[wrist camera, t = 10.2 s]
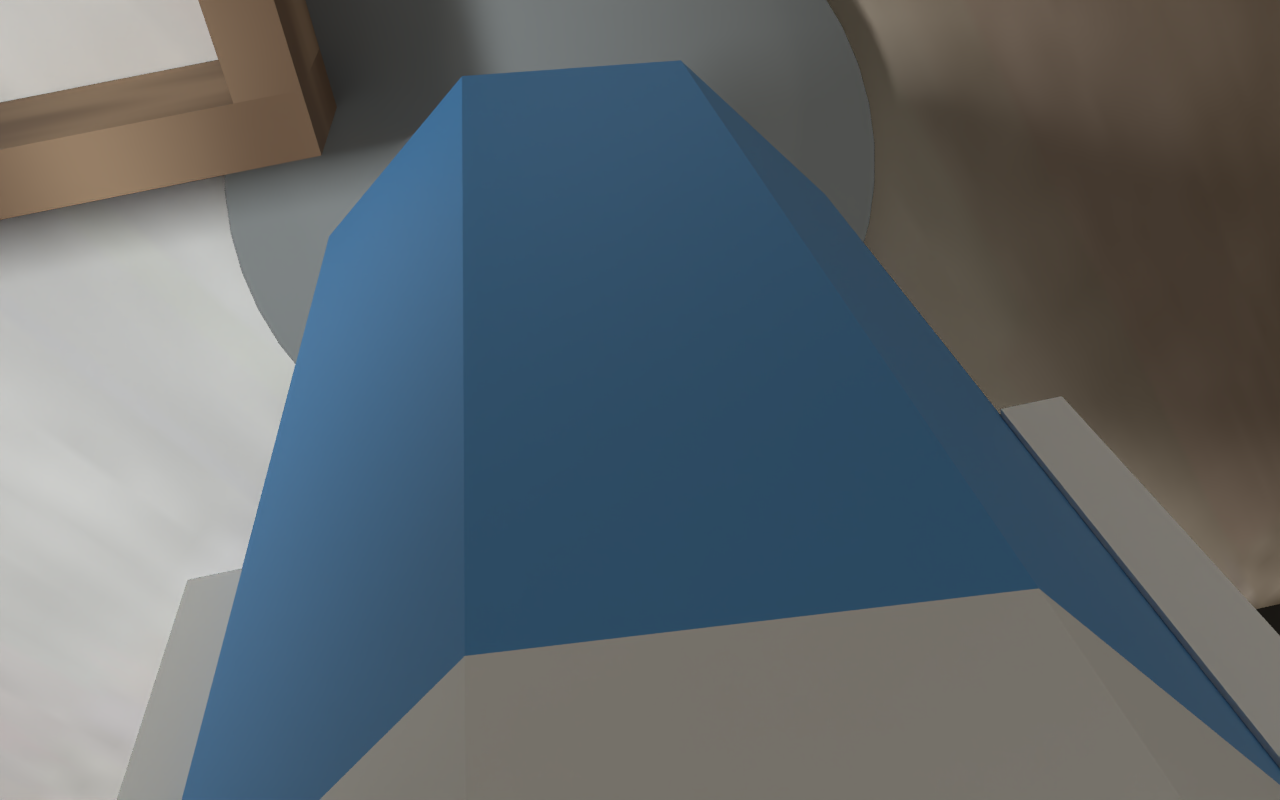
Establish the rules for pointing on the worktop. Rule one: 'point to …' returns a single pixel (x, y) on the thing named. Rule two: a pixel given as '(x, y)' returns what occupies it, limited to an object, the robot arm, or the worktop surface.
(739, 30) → the coaster
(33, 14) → the worktop surface
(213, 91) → the square wooden frame
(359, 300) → the water bottle
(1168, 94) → the worktop surface
